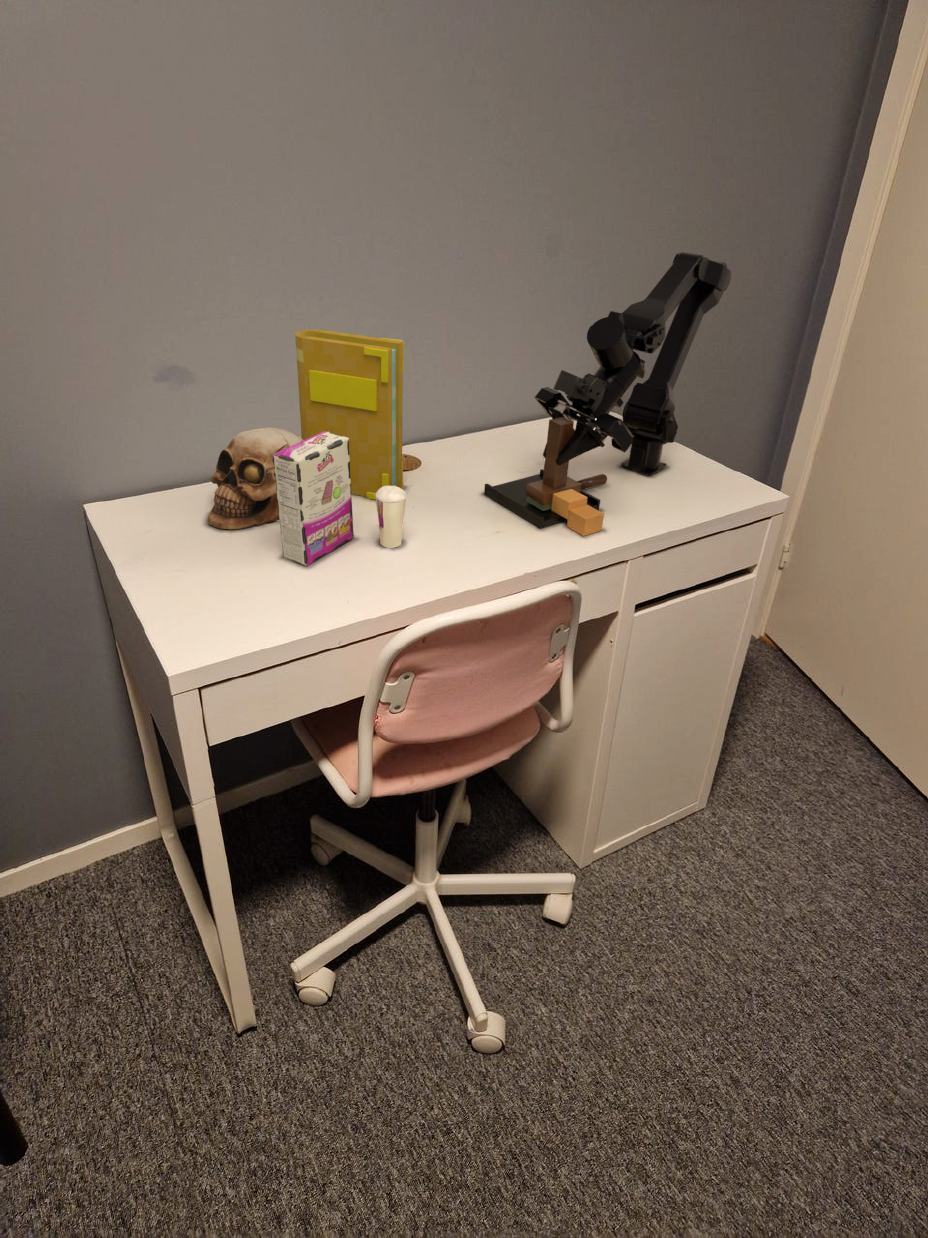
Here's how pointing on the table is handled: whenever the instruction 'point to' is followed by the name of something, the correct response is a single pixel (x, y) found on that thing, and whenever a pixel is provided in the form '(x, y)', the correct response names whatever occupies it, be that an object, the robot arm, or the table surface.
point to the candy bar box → (314, 496)
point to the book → (355, 401)
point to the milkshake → (391, 515)
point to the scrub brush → (553, 467)
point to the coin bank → (248, 479)
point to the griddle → (516, 501)
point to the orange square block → (585, 520)
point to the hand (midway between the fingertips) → (550, 460)
